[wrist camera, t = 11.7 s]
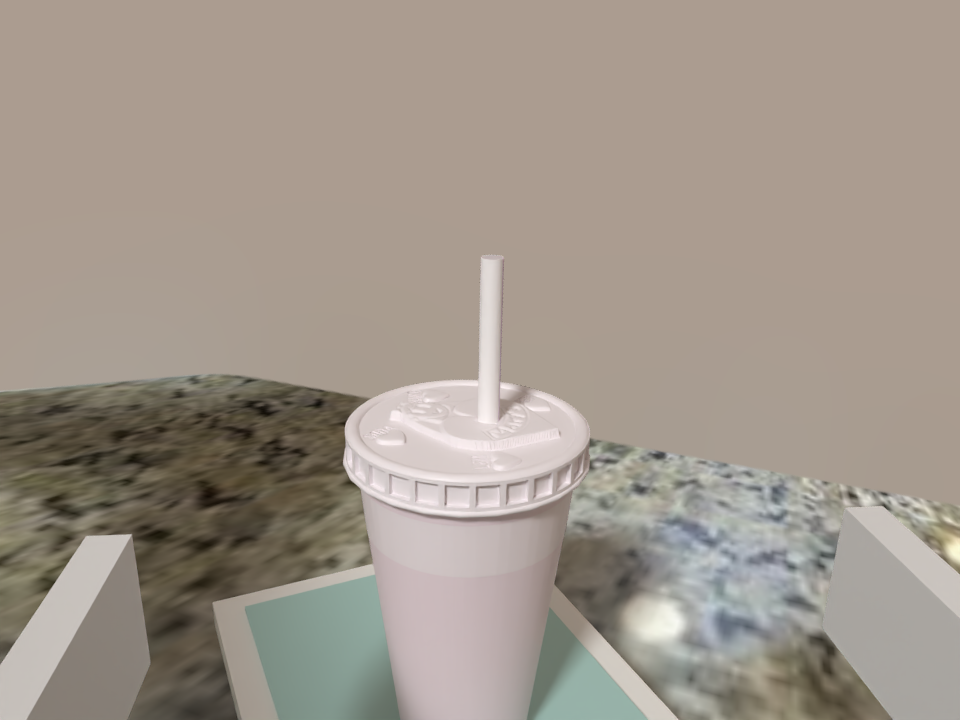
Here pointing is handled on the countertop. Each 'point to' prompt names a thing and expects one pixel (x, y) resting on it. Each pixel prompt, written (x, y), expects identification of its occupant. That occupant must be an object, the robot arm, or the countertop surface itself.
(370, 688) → the tray
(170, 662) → the countertop surface
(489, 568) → the smoothie
